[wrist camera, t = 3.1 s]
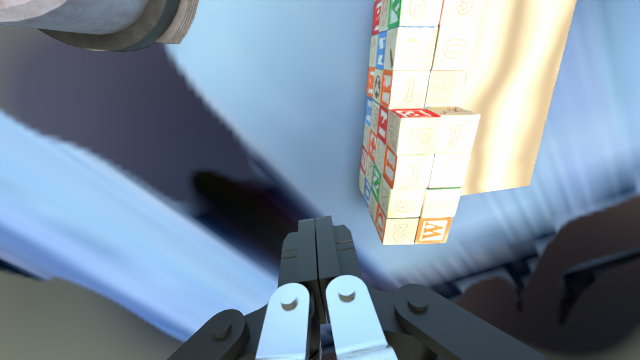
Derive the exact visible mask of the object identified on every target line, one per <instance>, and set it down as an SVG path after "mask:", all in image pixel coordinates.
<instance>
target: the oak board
mask: <svg viewBox="0 0 640 360" xmlns="http://www.w3.org/2000/svg"><path fill="white" fill-rule="evenodd" d="M576 1H577V0H484V2H483V6H482V11H481V15H480V19H479V22H478V26H479V28H478V32H477V36H476V41H475V45H474V49H473V53H472V58H471V62H470V66H469V69H468V70H467V74H466V79H465V83H464V87H463V91H462V96H461V100H460V104H459V107H461V108H463V109H466V110H469V111H472V112H474V113H477V114H480V119H479V123H478V127H477V131H476V134H475V138H474V142H473V146H472V150H471V152H470V160H469V163H468V167H467V171H466V175H465V179H464V183H463V185H462V186H461V193H460V196H461V195H468V194H475V193H482V192H488V191H495V190H502V189H509V188H515V187H522V186H529V185H530V181H531V177H532V173H533V169H534V165H535V161H536V157H537V153H538V149H539V145H540V141H541V138H542V134H543V130H544V126H545V122H546V118H547V114H548V110H549V106H550V102H551V98H552V95H553V91H554V87H555V83H556V79H557V75H558V71H559V67H560V63H561V59H562V55H563V52H564V48H565V44H566V40H567V36H568V32H569V28H570V24H571V20H572V16H573V12H574V9H575V5H576Z"/></svg>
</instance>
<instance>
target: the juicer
mask: <svg viewBox="0 0 640 360" xmlns="http://www.w3.org/2000/svg"><path fill="white" fill-rule="evenodd" d="M198 2H199V0H0V24H2V25H10V26H20V27H29V28H37V29H39V30H40V31H42V32H44V33H45V34H47V35H49V36H51V37H52V38H55V39H57V40H59V41H62V42H64V43H66V44H68V45H72V46H76V47H78V48H82V49H88V50H94V51H117V52H125V51H136V50H140V49H143V48H147V47H149V46H150V45H152V44H154V43H156V42H162V43H174V44H180V42H181V41H182V39H183V38H184V37H185V35H186V34H187V32H188V30H189V28H190V26H191V24H192V22H193V20H194V17H195V13H196V9H197V6H198Z"/></svg>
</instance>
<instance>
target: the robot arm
mask: <svg viewBox="0 0 640 360" xmlns="http://www.w3.org/2000/svg"><path fill="white" fill-rule="evenodd" d="M325 310H326V313H325ZM326 315H327V320H328V323H331V327H332V332H333V338H334V344H335V349H336V355H337V360H551V359H549V358H547V357H545V356H544V355H542V354H540V353H539V352H537V351H535V350H533V349H532V348H530V347H528V346H527V345H525V344H523V343H521V342H520V341H518V340H516V339H514V338H513V337H511V336H509V335H508V334H506V333H504V332H503V331H501V330H499V329H497V328H496V327H494V326H492V325H491V324H489V323H487V322H485V321H484V320H482V319H480V318H479V317H477V316H475V315H473V314H472V313H470V312H468V311H467V310H465V309H463V308H462V307H460V306H458V305H456V304H455V303H453V302H451V301H450V300H448V299H446V298H444V297H443V296H441V295H439V294H438V293H436V292H434V291H432V290H431V289H429V288H427V287H425V286H422V285H418V284H408V285H404V286H402V287H400V288H399V289H398V290H397V291H396V293H391V292H384V291H379V290H376V289H374V288H372V287H371V286H369V285H368V284H367V283H366V282H365V281H364V279H363V277H362V275H361V271H360V267H359V263H358V259H357V255H356V251H355V248H354V243H353V240H352V236H351V232H350V230H349V229H348V228H347V227H346V226H345V225H340V226H332V220H331V216H325V217H319V218H316V223H315V219H314V218H312V219H306V220H299V223H298V232H293V233H289V234H288V235H287V237H286V238H285V240H284V241H283V248H282V256H281V264H280V272H279V280H278V288H277V290H275V291H274V292H273V294H272V295H271V297H270V299H269V303H268V304H267V305H265V306H264V307H262V308H260V309H258V310H256V311H254V312H252V313H250V314H247V315H245V316H244V315H243V314H242V313H241V312H240V311H238V310H235V309H228V310H224V311H221V312H219V313H217V314H216V315H214V316H213V317H212V318H211V319H210V320H208V321H207V322H206V323H205V324H204V325H203V326H202V327H201V328H200V329H199V330H198V331H197V332H196V333H195V334H194V335H193V336H191V337H190V338H189V339H188V340H187V341H186V342H185V343H184V344H183V345H182V346H181V347H180V348H179V349H178V350H177V351H176V352H174V353H173V354H172V355H171V356H170V357H169V358H168V359H167V360H321V343H320V341H321V333H320V324H326Z"/></svg>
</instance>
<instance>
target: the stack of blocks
mask: <svg viewBox="0 0 640 360" xmlns="http://www.w3.org/2000/svg"><path fill="white" fill-rule="evenodd" d="M483 2H484V0H376V1H375V5H374V19H373V32H372V34H373V36H372V37H371V47H370V59H369V71H368V82H367V101H366V113H365V127H364V139H363V145H362V156H361V167H360V176H359V188H360V190H361V193H362V196H363V197H364V200H365V202H366V204H367V207H368V209H369V213H370V216H371V218H372V221H373V223H374V225H375V226H376V229H377V232H378V234H379V237H380V240H381V242H382V244H383V245H399V244H413V243H416V244H427V243H444V242H446V240H447V236H448V232H449V229H450V226H451V221H452V217H453V216H454V215H455V212H456V209H457V205H458V201H459V197H460V193H461V186H462V185H463V183H464V179H465V175H466V171H467V167H468V163H469V160H470V152H471V150H472V146H473V142H474V138H475V134H476V131H477V127H478V123H479V119H480V114H477V113H474V112H472V111H469V110H466V109H463V108H461V107H459V104H460V100H461V96H462V91H463V87H464V83H465V79H466V74H467V70H468V69H469V66H470V62H471V58H472V53H473V49H474V45H475V41H476V36H477V32H478V28H479V26H478V22H479V19H480V15H481V11H482V6H483Z"/></svg>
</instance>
